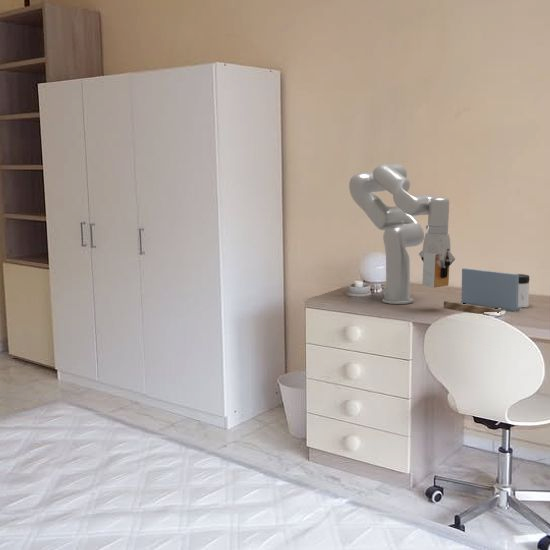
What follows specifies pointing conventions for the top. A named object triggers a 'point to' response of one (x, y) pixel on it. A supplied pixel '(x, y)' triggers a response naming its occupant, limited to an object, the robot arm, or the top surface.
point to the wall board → (490, 289)
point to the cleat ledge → (469, 307)
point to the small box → (433, 271)
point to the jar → (523, 291)
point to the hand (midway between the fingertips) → (435, 275)
